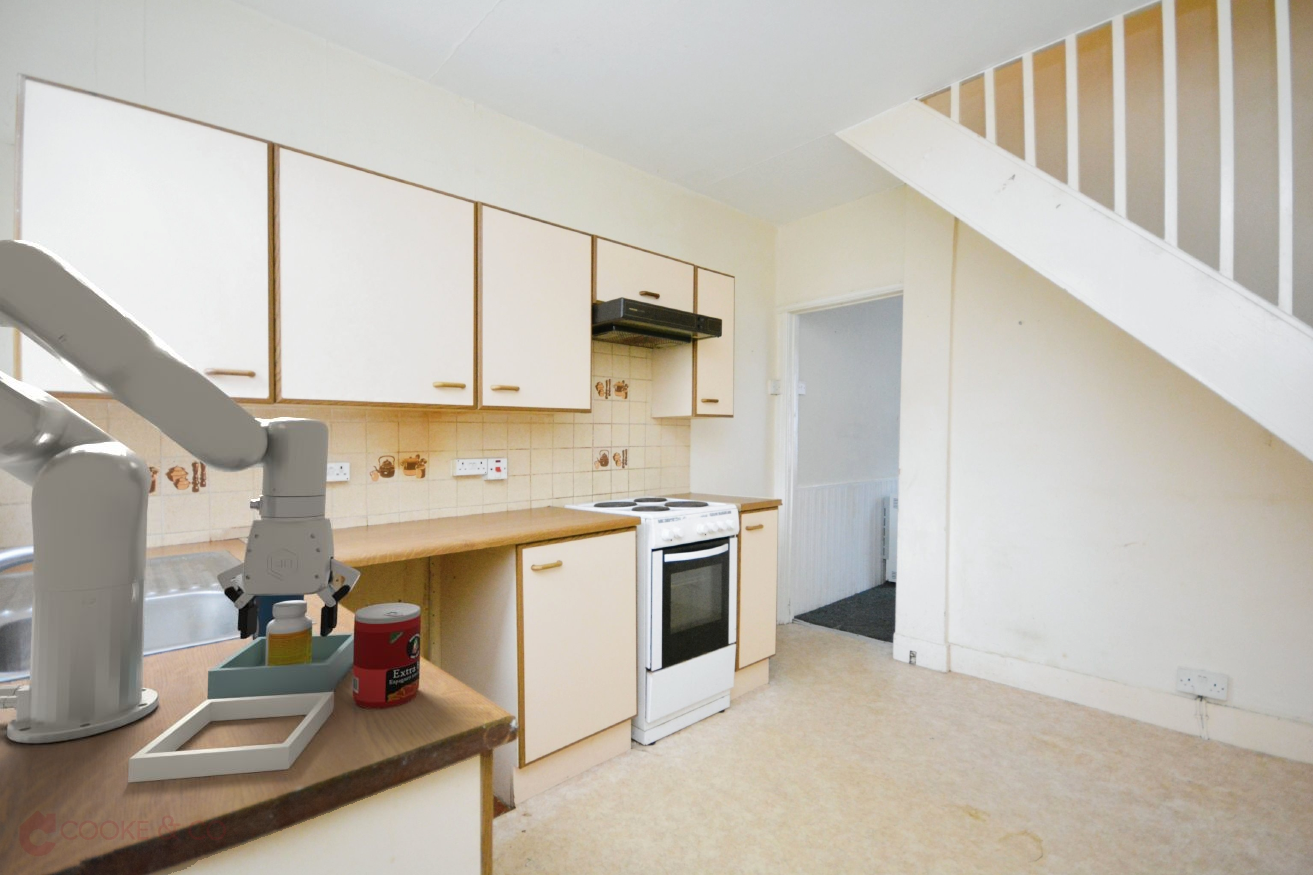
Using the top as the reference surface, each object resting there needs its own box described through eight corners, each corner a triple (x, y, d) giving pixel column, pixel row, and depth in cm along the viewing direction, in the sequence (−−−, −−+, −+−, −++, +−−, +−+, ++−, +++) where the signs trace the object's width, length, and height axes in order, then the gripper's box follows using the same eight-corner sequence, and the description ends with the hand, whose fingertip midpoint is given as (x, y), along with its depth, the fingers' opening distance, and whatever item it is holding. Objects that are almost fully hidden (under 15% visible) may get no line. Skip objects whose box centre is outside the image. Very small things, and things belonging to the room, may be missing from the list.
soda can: (312, 637, 99) (314, 565, 100) (280, 651, 93) (282, 573, 93) (275, 635, 100) (277, 563, 101) (241, 648, 94) (243, 571, 94)
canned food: (395, 712, 72) (397, 620, 72) (337, 706, 73) (339, 615, 74) (431, 688, 79) (433, 604, 80) (378, 682, 81) (380, 600, 81)
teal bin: (207, 703, 73) (208, 670, 74) (257, 664, 87) (258, 636, 87) (328, 696, 76) (328, 664, 76) (358, 659, 89) (359, 632, 90)
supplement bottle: (317, 675, 82) (319, 603, 82) (272, 686, 78) (273, 610, 78) (303, 665, 85) (305, 596, 85) (259, 675, 81) (261, 603, 81)
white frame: (128, 782, 56) (129, 758, 56) (206, 718, 70) (206, 699, 70) (288, 769, 59) (288, 746, 59) (333, 710, 72) (334, 691, 72)
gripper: (207, 510, 77) (200, 645, 76) (354, 511, 80) (348, 641, 79) (236, 505, 84) (230, 628, 83) (369, 506, 87) (364, 625, 87)
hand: (288, 634), depth 81 cm, fingers open, 9 cm apart
